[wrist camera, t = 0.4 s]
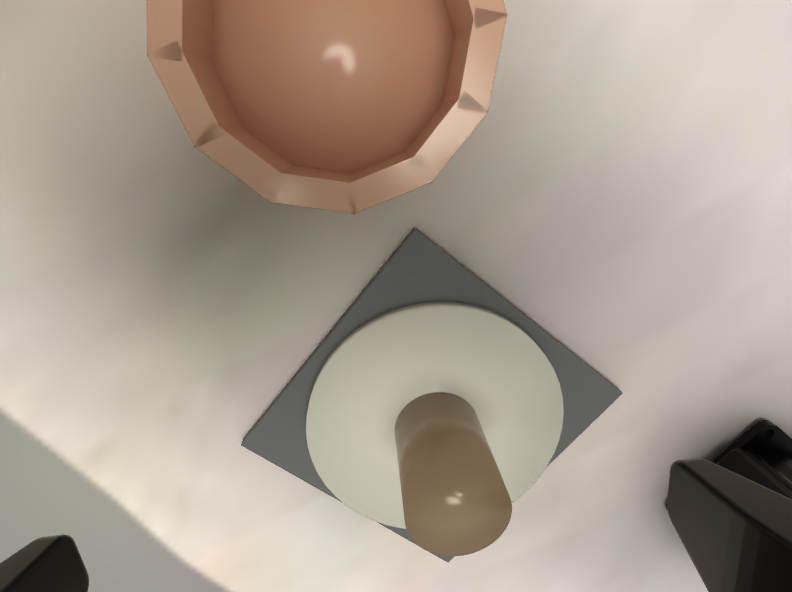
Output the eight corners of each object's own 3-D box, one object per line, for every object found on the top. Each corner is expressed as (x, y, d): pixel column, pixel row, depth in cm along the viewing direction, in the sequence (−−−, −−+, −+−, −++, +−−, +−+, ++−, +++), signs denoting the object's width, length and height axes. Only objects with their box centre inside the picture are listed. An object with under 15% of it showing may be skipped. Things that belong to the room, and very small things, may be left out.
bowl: (528, 30, 17) (571, 7, 13) (361, 243, 19) (362, 270, 16) (300, -201, 14) (282, -301, 11) (136, 74, 16) (79, 62, 13)
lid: (606, 394, 22) (686, 482, 16) (447, 551, 24) (471, 671, 19) (417, 247, 19) (440, 296, 13) (257, 442, 21) (223, 548, 16)
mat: (618, 388, 22) (622, 393, 22) (446, 555, 25) (448, 562, 24) (414, 227, 19) (415, 229, 18) (243, 439, 21) (241, 445, 21)
